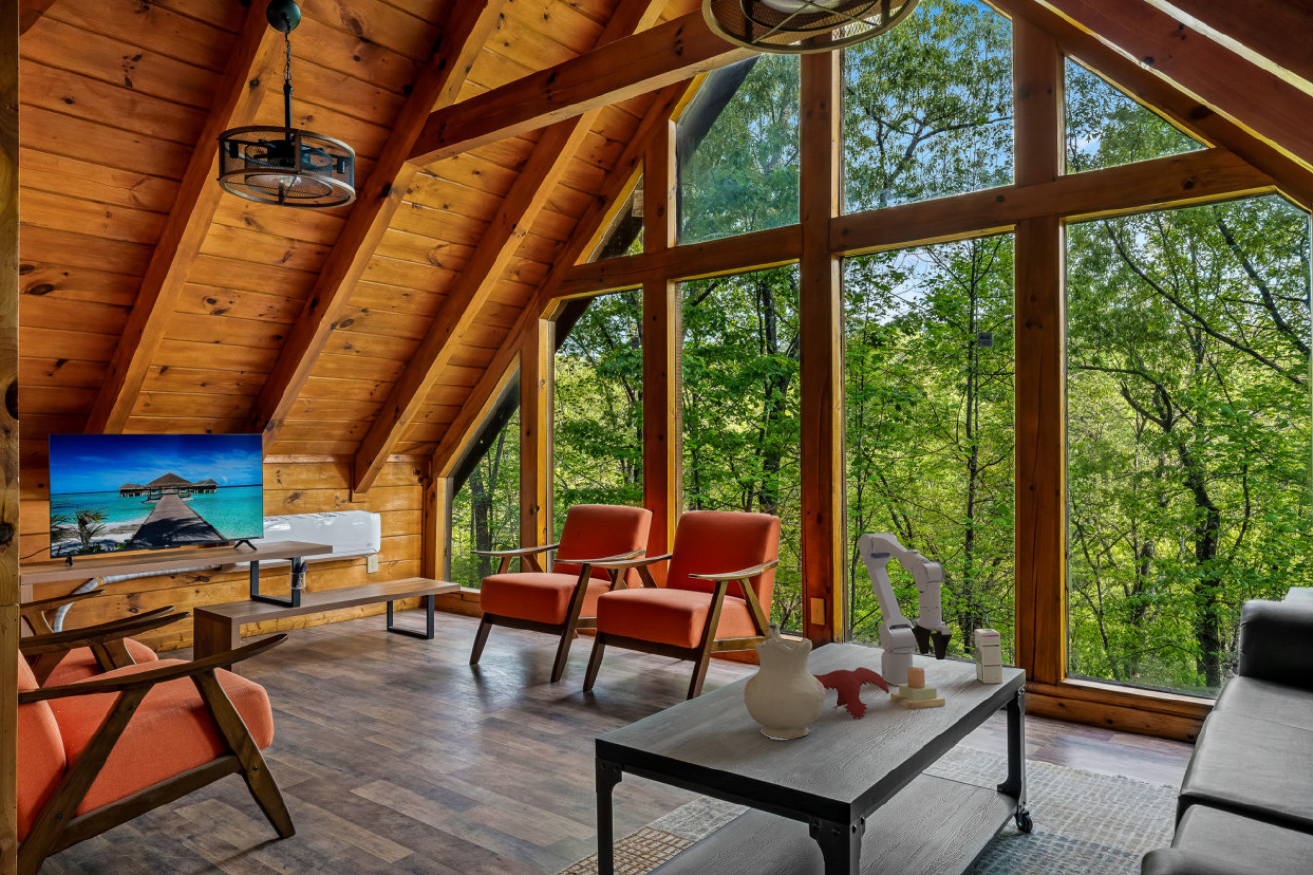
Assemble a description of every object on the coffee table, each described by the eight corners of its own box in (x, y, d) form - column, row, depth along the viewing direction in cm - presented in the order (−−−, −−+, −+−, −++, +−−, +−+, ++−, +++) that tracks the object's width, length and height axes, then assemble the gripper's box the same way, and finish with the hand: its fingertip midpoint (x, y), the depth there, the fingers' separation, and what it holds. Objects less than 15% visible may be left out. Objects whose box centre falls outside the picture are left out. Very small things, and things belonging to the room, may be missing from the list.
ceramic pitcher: (731, 727, 216) (721, 628, 215) (799, 711, 222) (790, 615, 222) (770, 754, 195) (759, 645, 195) (844, 736, 202) (834, 630, 202)
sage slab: (898, 693, 232) (898, 684, 232) (922, 691, 234) (921, 681, 234) (913, 700, 225) (912, 690, 225) (936, 697, 227) (936, 688, 227)
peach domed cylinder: (904, 685, 231) (903, 668, 231) (918, 683, 232) (918, 666, 232) (913, 689, 227) (913, 672, 227) (928, 687, 228) (927, 670, 228)
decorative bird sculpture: (896, 724, 225) (872, 673, 235) (912, 706, 219) (886, 655, 229) (801, 738, 215) (780, 684, 225) (814, 721, 209) (792, 666, 219)
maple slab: (890, 702, 233) (890, 692, 233) (923, 698, 236) (923, 689, 236) (911, 712, 223) (911, 702, 223) (945, 708, 226) (944, 698, 226)
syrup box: (1003, 683, 246) (1001, 632, 247) (982, 683, 246) (980, 632, 247) (995, 678, 252) (993, 628, 252) (975, 678, 252) (973, 628, 252)
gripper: (958, 609, 231) (960, 660, 230) (928, 602, 245) (930, 650, 244) (935, 611, 229) (937, 662, 229) (906, 603, 243) (908, 652, 243)
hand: (932, 656), depth 236 cm, fingers open, 7 cm apart
